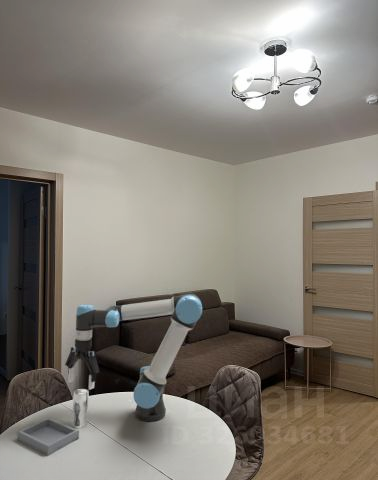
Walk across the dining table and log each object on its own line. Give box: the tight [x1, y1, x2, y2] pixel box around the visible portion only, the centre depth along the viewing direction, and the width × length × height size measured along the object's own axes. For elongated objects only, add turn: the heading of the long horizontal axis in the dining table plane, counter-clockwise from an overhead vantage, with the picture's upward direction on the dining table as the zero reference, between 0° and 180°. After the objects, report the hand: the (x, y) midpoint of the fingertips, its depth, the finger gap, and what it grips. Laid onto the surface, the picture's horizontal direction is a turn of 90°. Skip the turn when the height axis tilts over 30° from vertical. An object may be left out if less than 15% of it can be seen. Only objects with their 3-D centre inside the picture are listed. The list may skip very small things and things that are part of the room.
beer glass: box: [72, 388, 90, 429], centre depth 159 cm, size 7×7×15 cm
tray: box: [16, 417, 80, 456], centre depth 145 cm, size 20×15×4 cm
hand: (80, 385), depth 159 cm, fingers open, 13 cm apart
